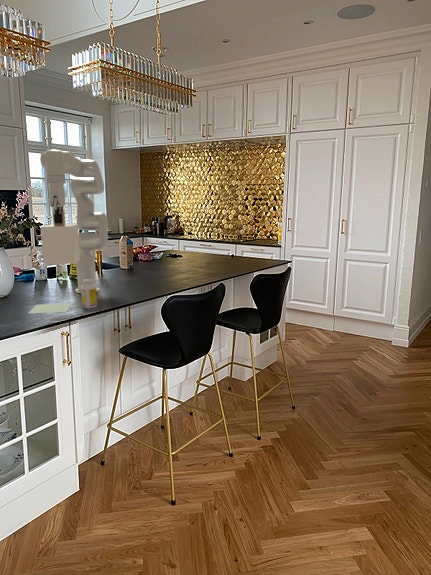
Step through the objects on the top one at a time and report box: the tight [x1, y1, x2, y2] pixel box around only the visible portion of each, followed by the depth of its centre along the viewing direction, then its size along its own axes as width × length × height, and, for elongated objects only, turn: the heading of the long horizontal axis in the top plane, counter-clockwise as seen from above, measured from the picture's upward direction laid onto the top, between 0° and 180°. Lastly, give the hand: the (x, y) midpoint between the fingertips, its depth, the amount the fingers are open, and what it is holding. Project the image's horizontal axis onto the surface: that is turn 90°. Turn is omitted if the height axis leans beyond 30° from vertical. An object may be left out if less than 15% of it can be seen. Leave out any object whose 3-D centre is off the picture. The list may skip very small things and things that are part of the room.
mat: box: [28, 302, 72, 315], centre depth 200 cm, size 16×16×1 cm
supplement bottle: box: [80, 279, 98, 309], centre depth 202 cm, size 7×7×13 cm
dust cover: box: [40, 211, 80, 265], centre depth 195 cm, size 13×13×22 cm
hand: (59, 222), depth 194 cm, fingers closed on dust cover, 4 cm apart
